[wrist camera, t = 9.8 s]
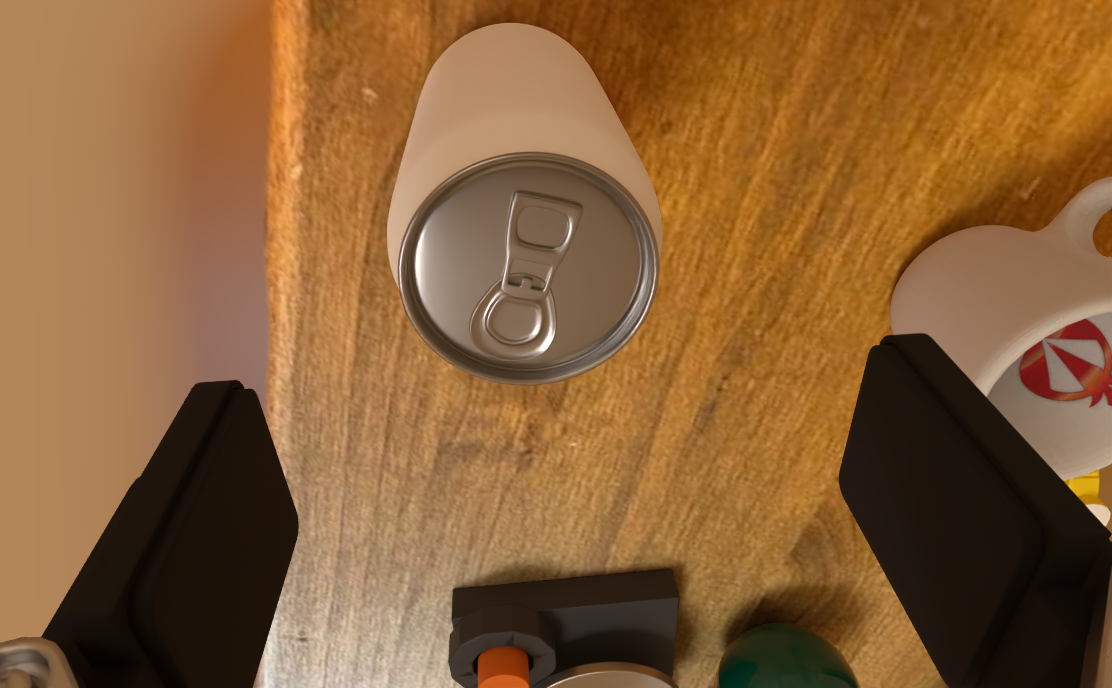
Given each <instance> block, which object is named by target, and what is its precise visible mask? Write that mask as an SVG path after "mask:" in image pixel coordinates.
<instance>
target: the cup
mask: <svg viewBox="0 0 1112 688" xmlns="http://www.w3.org/2000/svg"><path fill="white" fill-rule="evenodd" d="M1110 209H1112V176H1110V177H1106V178H1103V179H1100V180H1097V181H1095V182H1093V183H1091V184H1089V185H1088V186H1086V187H1085V188H1083V189H1082V190H1081V191H1080V192H1078V193H1077V194H1076V195H1075V196H1074V197H1073V198H1072V199H1071V200H1070V201H1069V202H1068V203H1067V204H1066V205H1065V207H1064V208H1063V209H1062V210H1061V211H1060V212H1059V214H1058V215H1057V216H1056V217H1055V218H1054V219H1053V221H1052V222H1050V223H1049V224H1048V225H1047V226H1046V227H1045V228H1043V229H1041V230H1039V231H1034V232H1031V231H1025V230H1022V229H1018V228H1014V227H1009V226H1001V225H984V226H976V227H971V228H967V229H963V230H960V231H957V232H955V233H952V234H950V235H948V236H946V237H944V238H942V239H940V240H938V241H937V242H935V243H933V244H932V245H930V246H929V247H928V248H926V249H925V250H924V251H923V252H922V253H920V254H919V255H918V256H917V257H916V258H915V259H914V260H913V261H912V262H911V264H910V265H909V266H908V267H907V268H906V270H905V271H904V273H903V274H902V276H901V277H900V279H899V281H898V283H897V285H896V287H895V289H894V292H893V295H892V299H891V303H890V325H891V329H892V333H893V335H899V334H913V333H925V334H928V335H929V336H930V337H932V338H933V339H934V341H935V342H936V343H937V344H938V345H939V346H940V347H941V348H942V349H943V350H944V351H945V353H946V354H947V355H948V356H949V357H950V358H951V359H952V360H953V361H954V362H955V363H956V365H957V366H958V367H959V368H960V369H961V370H962V371H963V372H964V373H965V374H966V375H967V377H968V378H969V379H970V380H971V381H972V382H973V383H974V384H975V385H976V386H977V387H978V389H979V390H980V391H981V392H982V393H983V394H984V395H985V396H986V397H987V398H988V399H989V401H990V402H991V403H992V404H993V405H994V406H995V407H996V408H997V409H998V410H999V411H1000V413H1001V414H1002V415H1003V416H1004V417H1005V418H1006V419H1007V420H1008V421H1009V422H1010V423H1011V424H1012V426H1013V427H1014V428H1015V429H1016V430H1017V431H1018V432H1019V433H1020V434H1021V435H1022V436H1023V438H1024V439H1025V440H1026V441H1027V442H1028V443H1029V444H1030V445H1031V446H1032V447H1033V448H1034V450H1035V451H1036V452H1037V453H1038V454H1039V455H1040V456H1041V457H1042V458H1043V459H1044V460H1045V462H1046V463H1047V464H1048V465H1049V466H1050V467H1051V468H1052V469H1053V470H1054V471H1055V472H1056V474H1057V475H1058V476H1059V477H1060V478H1061V479H1062V480H1063V481H1064V480H1068V479H1072V478H1076V477H1079V476H1083V475H1086V474H1088V473H1091V472H1094V471H1096V470H1099V469H1101V468H1103V467H1106V466H1108V465H1110V464H1112V257H1105V256H1102V255H1101V254H1100V253H1099V252H1098V251H1097V249H1096V248H1095V246H1094V242H1093V231H1094V228H1095V226H1096V224H1097V222H1098V221H1099V219H1100V218H1101V217H1102V216H1103V215H1104V214H1105V213H1106V212H1108V211H1109V210H1110Z"/></svg>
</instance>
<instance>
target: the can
mask: <svg viewBox="0 0 1112 688" xmlns="http://www.w3.org/2000/svg"><path fill="white" fill-rule="evenodd" d="M662 237H663V232H662V219H661V213H660V208H659V204H658V200H657V196H656V193H655V190H654V188H653V185H652V183H651V181H650V178H649V176H648V174H647V172H646V170H645V168H644V166H643V164H642V162H641V160H640V158H639V156H638V154H637V152H636V150H635V148H634V146H633V144H632V142H631V140H630V138H629V136H628V134H627V133H626V131H625V129H624V127H623V125H622V123H621V121H620V119H619V118H618V116H617V114H616V112H615V110H614V108H613V106H612V104H611V103H610V101H609V99H608V97H607V95H606V93H605V92H604V90H603V88H602V86H601V84H600V83H599V81H598V79H597V77H596V76H595V74H594V72H593V71H592V69H591V67H590V66H589V64H588V63H587V62H586V60H585V59H584V58H583V57H582V55H581V54H580V53H579V52H578V51H577V50H576V49H575V48H574V47H573V46H571V45H570V44H569V43H568V42H566V41H565V40H564V39H562V38H561V37H559V36H557V35H556V34H554V33H552V32H550V31H547V30H545V29H542V28H540V27H536V26H532V25H528V24H521V23H501V24H494V25H489V26H486V27H482V28H479V29H477V30H474V31H472V32H470V33H468V34H466V35H465V36H463V37H461V38H460V39H458V40H457V41H456V42H454V43H453V44H452V45H451V46H450V47H449V48H448V49H446V50H445V52H444V53H443V54H442V55H441V56H440V57H439V59H438V60H437V61H436V63H435V64H434V66H433V67H432V69H431V71H430V73H429V74H428V77H427V79H426V81H425V84H424V86H423V89H422V92H421V95H420V98H419V102H418V105H417V108H416V112H415V115H414V119H413V122H412V126H411V129H410V133H409V136H408V140H407V144H406V147H405V151H404V154H403V158H402V162H401V165H400V169H399V173H398V176H397V180H396V184H395V188H394V192H393V196H392V200H391V205H390V211H389V216H388V226H387V247H388V256H389V261H390V266H391V270H392V273H393V276H394V279H395V282H396V284H397V286H398V288H399V291H400V296H401V299H402V303H403V306H404V308H405V311H406V313H407V316H408V318H409V320H410V322H411V323H412V325H413V327H414V328H415V330H416V331H417V333H418V334H419V336H420V337H421V338H422V339H423V340H424V342H425V343H426V344H427V345H428V346H429V347H430V348H431V349H432V350H433V351H434V352H435V353H437V354H438V355H439V356H440V357H441V358H443V359H444V360H445V361H447V362H448V363H450V364H451V365H453V366H455V367H456V368H458V369H460V370H462V371H464V372H466V373H468V374H471V375H473V376H476V377H479V378H482V379H485V380H488V381H492V382H497V383H502V384H510V385H541V384H549V383H554V382H559V381H563V380H567V379H570V378H573V377H576V376H578V375H581V374H583V373H586V372H588V371H590V370H592V369H594V368H596V367H597V366H599V365H601V364H602V363H604V362H605V361H607V360H608V359H610V358H611V357H612V356H614V355H615V354H616V353H617V352H619V351H620V350H621V349H622V348H623V347H624V346H625V345H626V344H627V343H628V342H629V341H630V340H631V339H632V337H633V336H634V335H635V334H636V332H637V331H638V330H639V328H640V327H641V325H642V324H643V322H644V320H645V319H646V317H647V315H648V313H649V311H650V309H651V306H652V304H653V301H654V298H655V294H656V291H657V286H658V280H659V261H660V256H661V250H662Z"/></svg>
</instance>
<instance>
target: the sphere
mask: <svg viewBox="0 0 1112 688" xmlns="http://www.w3.org/2000/svg"><path fill="white" fill-rule="evenodd" d="M714 688H860V685H859V682H858V680H857V677H856V676H855V674H854V672H853V670H852V668H851V667H850V665H849V664H848V662H847V661H846V659H845V658H844V656H843V655H842V654H841V652H840V651H839V650H838V649H837V648H836V647H835V646H834V645H833V644H832V643H831V642H830V641H828V640H827V639H825V638H824V637H822V636H821V635H819V634H817V633H815V632H814V631H812V630H810V629H808V628H805V627H803V626H799V625H794V624H790V623H768V624H763V625H759V626H757V627H754V628H752V629H749V630H747V631H746V632H744V633H743V634H741V635H740V636H738V637H737V638H736V639H735V640H734V641H733V642H732V644H731V645H730V646H729V647H728V648H727V649H726V651H725V653H724V654H723V656H722V658H721V661H720V664H719V667H718V670H717V673H716V675H715V682H714Z"/></svg>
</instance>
